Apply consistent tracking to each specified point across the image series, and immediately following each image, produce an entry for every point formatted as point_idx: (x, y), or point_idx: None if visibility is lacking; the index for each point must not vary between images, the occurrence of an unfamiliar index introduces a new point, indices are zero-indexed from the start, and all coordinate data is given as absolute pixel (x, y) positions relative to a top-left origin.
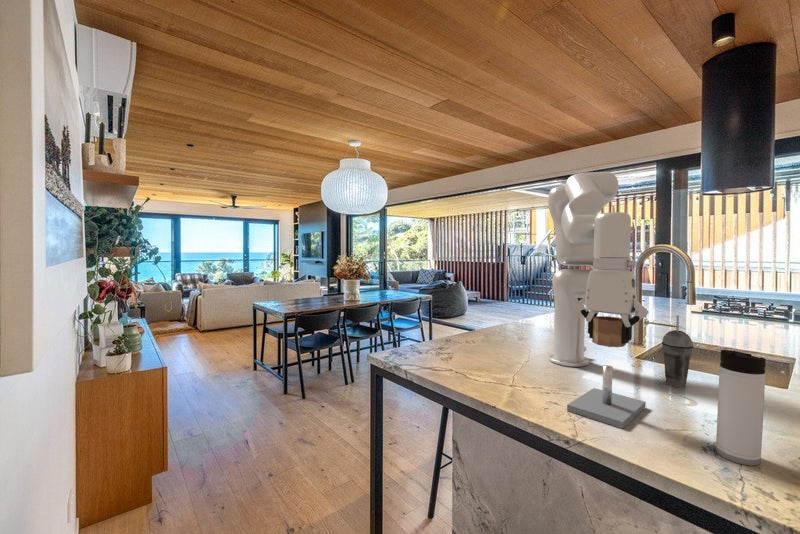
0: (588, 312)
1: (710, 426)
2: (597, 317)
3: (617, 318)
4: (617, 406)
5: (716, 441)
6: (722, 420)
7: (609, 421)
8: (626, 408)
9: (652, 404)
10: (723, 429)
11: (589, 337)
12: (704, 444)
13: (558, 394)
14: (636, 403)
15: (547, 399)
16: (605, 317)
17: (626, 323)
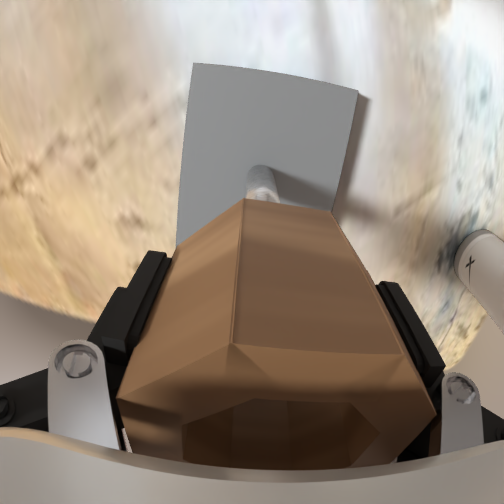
0: (32, 424)
1: (471, 136)
2: (159, 448)
3: (362, 410)
4: (291, 184)
5: (462, 267)
6: (486, 309)
7: None
8: (315, 184)
9: (366, 51)
10: (479, 302)
11: None
12: (445, 239)
13: (116, 152)
14: (336, 123)
15: (112, 211)
16: (218, 410)
17: (409, 449)
